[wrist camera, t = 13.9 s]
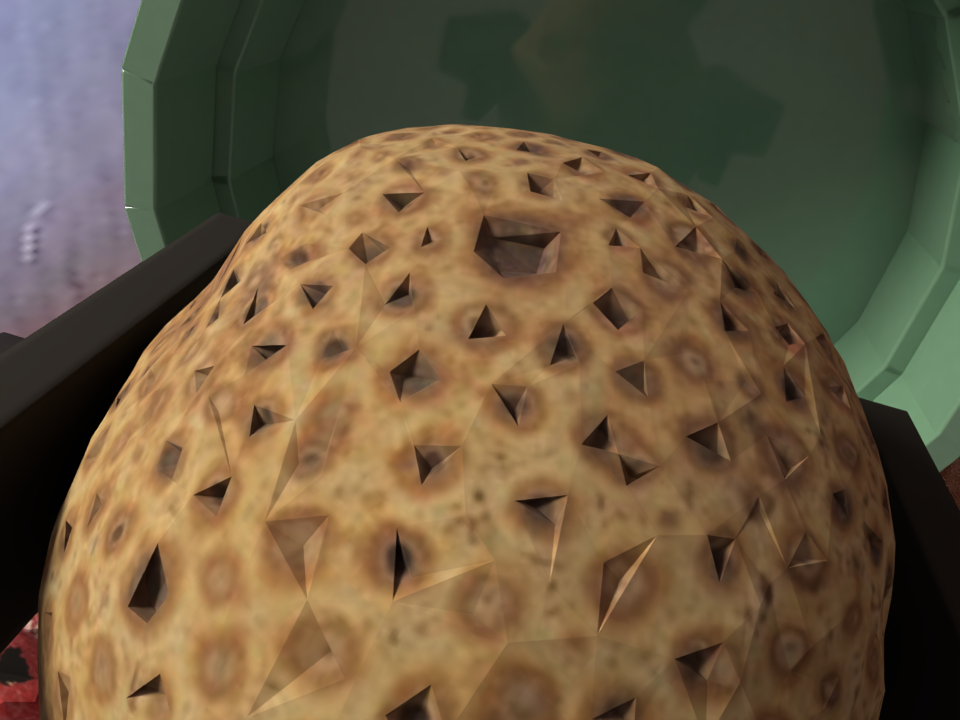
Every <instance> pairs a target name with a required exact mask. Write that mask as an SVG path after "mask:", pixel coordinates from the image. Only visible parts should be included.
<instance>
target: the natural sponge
mask: <svg viewBox="0 0 960 720" xmlns="http://www.w3.org/2000/svg"><path fill="white" fill-rule="evenodd" d="M894 567H895V536H894V530H893V523H892V517H891V510H890V503H889V496H888V488H887V483H886V479H885V476H884V472H883V468H882V464H881V461H880V457H879V453H878V449H877V446H876V444H875V441H874V438H873V436H872V433H871V430H870V428H869V425H868V422H867V419H866V416H865V414H864V411H863V408H862V405H861V402H860V400H859V398H858V396H857V394H856V391H855V389H854V386H853V383H852V381H851V378H850V375H849V373H848V370H847V368H846V365H845V362H844V361H843V359H842V357H841V356H840V354H839V353H838V351H837V350H836V348H835V346H834V345H833V343H832V341H831V339H830V337H829V335H828V332H827V331H826V329H825V328H824V326H823V325H822V323H821V322H820V321H819V319H818V318H817V316H816V315H815V313H814V312H813V310H812V309H811V307H810V306H809V305H808V303H807V302H806V300H805V299H804V298H803V296H802V295H801V293H800V292H799V291H798V289H797V288H796V287H795V285H794V284H793V283H792V281H791V280H790V279H789V277H788V276H787V275H786V273H785V272H784V271H783V270H782V269H781V268H780V267H779V266H778V265H777V264H776V263H775V262H774V261H773V260H772V259H771V257H770V256H769V255H768V254H767V253H766V252H764V251H763V250H762V249H761V248H760V247H759V246H758V245H757V244H756V243H755V242H754V241H753V240H752V239H751V238H750V237H749V236H748V235H747V234H746V233H745V232H743V231H742V230H741V229H740V228H739V227H738V226H737V225H736V224H735V223H734V222H733V221H732V220H731V219H730V218H729V217H728V216H727V215H726V214H725V213H724V212H723V211H722V210H721V209H720V208H719V207H717V206H716V205H715V204H714V203H712V202H710V201H709V200H707V199H706V198H704V197H702V196H701V195H699V194H697V193H696V192H694V191H693V190H691V189H689V188H688V187H686V186H685V185H683V184H681V183H680V182H678V181H677V180H675V179H674V178H672V177H671V176H669V175H668V174H667V173H665V172H664V171H662V170H661V169H660V168H658V167H656V166H654V165H651V164H649V163H647V162H645V161H642V160H640V159H638V158H635V157H632V156H629V155H626V154H623V153H620V152H617V151H614V150H610V149H607V148H603V147H599V146H595V145H591V144H587V143H582V142H578V141H574V140H570V139H566V138H562V137H559V136H555V135H552V134H545V133H539V132H532V131H525V130H518V129H509V128H498V127H486V126H474V125H462V124H449V125H438V126H427V127H412V128H404V129H399V130H393V131H388V132H383V133H379V134H375V135H371V136H368V137H365V138H362V139H359V140H357V141H355V142H353V143H351V144H349V145H347V146H345V147H343V148H341V149H339V150H337V151H335V152H333V153H331V154H330V155H328V156H326V157H324V158H323V159H321V160H319V161H317V162H316V163H315V164H314V165H313V166H311V167H310V168H309V169H308V170H307V171H306V172H305V173H303V174H302V175H301V176H300V177H299V178H298V179H297V180H296V181H295V182H294V183H293V184H292V185H290V186H289V187H288V188H287V189H286V190H285V191H284V192H283V193H282V194H281V195H280V196H279V197H277V198H276V199H275V200H274V201H273V202H272V203H271V204H270V205H269V206H268V207H267V208H266V209H264V210H263V212H262V213H261V214H260V215H259V216H258V217H257V218H256V219H255V220H254V221H253V223H252V224H251V225H250V226H249V227H248V228H247V229H246V230H245V232H244V233H243V235H242V236H241V238H240V239H239V241H238V242H237V244H236V245H235V247H234V249H233V250H232V252H231V253H230V255H229V256H228V258H227V259H226V261H225V262H224V264H223V265H222V267H221V268H220V270H219V271H218V273H217V275H216V276H215V278H214V279H213V280H212V282H211V283H210V284H209V285H208V286H207V287H206V288H205V289H204V290H203V291H202V292H201V293H200V294H199V295H198V296H197V297H196V298H195V299H194V300H193V301H192V302H191V303H189V304H188V305H187V306H186V307H185V308H184V309H183V310H182V311H181V312H179V313H178V314H177V315H176V316H175V317H174V318H173V319H172V320H171V321H169V322H168V323H167V324H166V325H165V326H164V328H163V329H162V330H161V331H160V332H159V334H158V335H157V336H156V337H155V338H154V339H153V341H152V342H151V343H150V344H149V345H148V347H147V348H146V349H145V350H144V351H143V353H142V355H141V357H140V358H139V360H138V362H137V364H136V366H135V368H134V369H133V371H132V373H131V374H130V376H129V377H128V379H127V381H126V382H125V384H124V385H123V387H122V389H121V390H120V392H119V393H118V395H117V397H116V398H115V400H114V401H113V403H112V405H111V406H110V408H109V410H108V412H107V414H106V416H105V417H104V419H103V421H102V422H101V424H100V425H99V427H98V428H97V430H96V431H95V433H94V435H93V436H92V438H91V440H90V442H89V445H88V447H87V449H86V452H85V454H84V456H83V459H82V461H81V463H80V466H79V468H78V470H77V473H76V475H75V477H74V479H73V482H72V484H71V486H70V489H69V491H68V493H67V496H66V498H65V500H64V502H63V504H62V506H61V509H60V511H59V513H58V516H57V519H56V522H55V525H54V528H53V530H52V533H51V538H50V542H49V547H48V552H47V556H46V561H45V566H44V570H43V575H42V580H41V586H40V591H39V600H38V645H37V660H38V692H39V717H40V720H878V719H879V715H880V710H881V706H882V702H883V697H884V693H885V683H884V633H885V628H886V622H887V617H888V612H889V607H890V602H891V596H892V587H893V578H894Z"/></svg>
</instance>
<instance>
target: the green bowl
mask: <svg viewBox="0 0 960 720" xmlns="http://www.w3.org/2000/svg"><path fill="white" fill-rule="evenodd" d="M122 68H123V70H122V105H123V150H124V195H125V205H126V207H125V210H126V213H127V216H128V220H129V223H130V226H131V229H132V232H133V235H134V238H135V242H136V245H137V248H138V251H139V254H140V257H141V261H142V262H143V261H144V260H146V259H147V258H149V257H151V256H152V255H154V254H155V253H157V252H158V251H160V250H161V249H163V248H164V247H166V246H167V245H169V244H170V243H172V242H173V241H175V240H177V239H178V238H180V237H181V236H183V235H184V234H186V233H187V232H189V231H190V230H192V229H193V228H195V227H196V226H198V225H199V224H201V223H203V222H204V221H206V220H207V219H209V218H210V217H212V216H213V215H215V214H216V213H218V212H219V213H222V214H226V215H229V216H233V217H236V218H240V219H243V220H246V221H250V222H253V221H254V220H255V219H256V218H257V217H258V216H259V215H260V214H261V213H262V212H263V210H264V209H266V208H267V207H268V206H269V205H270V204H271V203H272V202H273V201H274V200H275V199H276V198H277V197H279V196H280V195H281V194H282V193H283V192H284V191H285V190H286V189H287V188H288V187H289V186H290V185H292V184H293V183H294V182H295V181H296V180H297V179H298V178H299V177H300V176H301V175H302V174H303V173H305V172H306V171H307V170H308V169H309V168H310V167H311V166H313V165H314V164H315V163H316V162H317V161H319V160H321V159H323V158H324V157H326V156H328V155H330V154H331V153H333V152H335V151H337V150H339V149H341V148H343V147H345V146H347V145H349V144H351V143H353V142H355V141H357V140H359V139H362V138H365V137H368V136H371V135H375V134H379V133H383V132H388V131H393V130H399V129H404V128H412V127H427V126H438V125H449V124H462V125H474V126H486V127H498V128H509V129H518V130H525V131H532V132H539V133H545V134H552V135H555V136H559V137H562V138H566V139H570V140H574V141H578V142H582V143H587V144H591V145H595V146H599V147H603V148H607V149H610V150H614V151H617V152H620V153H623V154H626V155H629V156H632V157H635V158H638V159H640V160H642V161H645V162H647V163H649V164H651V165H654V166H656V167H658V168H660V169H661V170H662V171H664V172H665V173H667V174H668V175H669V176H671V177H672V178H674V179H675V180H677V181H678V182H680V183H681V184H683V185H685V186H686V187H688V188H689V189H691V190H693V191H694V192H696V193H697V194H699V195H701V196H702V197H704V198H706V199H707V200H709V201H710V202H712V203H714V204H715V205H716V206H717V207H719V208H720V209H721V210H722V211H723V212H724V213H725V214H726V215H727V216H728V217H729V218H730V219H731V220H732V221H733V222H734V223H735V224H736V225H737V226H738V227H739V228H740V229H741V230H742V231H743V232H745V233H746V234H747V235H748V236H749V237H750V238H751V239H752V240H753V241H754V242H755V243H756V244H757V245H758V246H759V247H760V248H761V249H762V250H763V251H764V252H766V253H767V254H768V255H769V256H770V257H771V259H772V260H773V261H774V262H775V263H776V264H777V265H778V266H779V267H780V268H781V269H782V270H783V271H784V272H785V273H786V275H787V276H788V277H789V279H790V280H791V281H792V283H793V284H794V285H795V287H796V288H797V289H798V291H799V292H800V293H801V295H802V296H803V298H804V299H805V300H806V302H807V303H808V305H809V306H810V307H811V309H812V310H813V312H814V313H815V315H816V316H817V318H818V319H819V321H820V322H821V323H822V325H823V326H824V328H825V329H826V331H827V332H828V335H829V337H830V339H831V341H832V343H833V345H834V346H835V348H836V350H837V351H838V353H839V354H840V356H841V357H842V359H843V361H844V362H845V365H846V368H847V370H848V373H849V375H850V378H851V381H852V383H853V386H854V389H855V391H856V394H857V396H858V397H859V398H863V399H866V400H870V401H873V402H877V403H880V404H884V405H887V406H890V407H894V408H897V409H901V410H904V411H907V412H908V414H909V416H910V417H911V419H912V421H913V423H914V425H915V427H916V429H917V431H918V433H919V435H920V436H921V438H922V440H923V442H924V444H925V446H926V448H927V450H928V452H929V454H930V455H931V457H932V459H933V461H934V463H935V465H936V467H937V469H938V471H939V473H940V472H941V471H943V470H944V469H945V468H947V467H948V466H949V465H950V464H952V463H953V462H954V461H955V460H957V459H958V458H959V457H960V0H141V3H140V6H139V10H138V13H137V17H136V20H135V23H134V27H133V30H132V33H131V37H130V40H129V43H128V47H127V50H126V54H125V57H124V60H123V64H122Z"/></svg>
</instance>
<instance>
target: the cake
mask: <svg viewBox="0 0 960 720" xmlns="http://www.w3.org/2000/svg"><path fill="white" fill-rule="evenodd" d="M37 645H38V613H37V614H36V615H35V616H34V617H33V618H32V619H31V620H30V622H29V623H28V624H27V625H26V626H25V627H24V628H23V629H22V630H21V632H20V633H19V634H18V635H17V636H16V637H15V638H14V639H13V641H12V642H11V643H10V644H9V645H8V646H7V647H6V648H5V649H4V651H3V652H2V653H1V654H0V720H40V717H39V692H38V660H37Z"/></svg>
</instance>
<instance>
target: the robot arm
mask: <svg viewBox="0 0 960 720" xmlns="http://www.w3.org/2000/svg"><path fill="white" fill-rule="evenodd" d="M252 223H253V222H250V221H246V220H243V219H240V218H236V217H233V216H229V215H226V214H222V213H219V212H218V213H216V214H215V215H213V216H212V217H210V218H209V219H207V220H206V221H204V222H203V223H201V224H199V225H198V226H196V227H195V228H193V229H192V230H190V231H189V232H187V233H186V234H184V235H183V236H181V237H180V238H178V239H177V240H175V241H173V242H172V243H170V244H169V245H167V246H166V247H164V248H163V249H161V250H160V251H158V252H157V253H155V254H154V255H152V256H151V257H149V258H147V259H146V260H144V261H143V262H141V263H140V264H138V265H137V266H135V267H134V268H132V269H131V270H129V271H128V272H126V273H124V274H123V275H121V276H120V277H118V278H117V279H115V280H114V281H112V282H111V283H109V284H108V285H106V286H105V287H103V288H102V289H100V290H98V291H97V292H95V293H94V294H92V295H91V296H89V297H88V298H86V299H85V300H83V301H82V302H80V303H79V304H77V305H76V306H74V307H72V308H71V309H69V310H68V311H66V312H65V313H63V314H62V315H60V316H59V317H57V318H56V319H54V320H53V321H51V322H50V323H48V324H46V325H45V326H43V327H42V328H40V329H39V330H37V331H36V332H34V333H33V334H31V335H30V336H28V337H27V338H22V337H18V336H15V335H12V334H8V333H5V332H3V333H0V654H1V653H2V652H3V651H4V649H5V648H6V647H7V646H8V645H9V644H10V643H11V642H12V641H13V639H14V638H15V637H16V636H17V635H18V634H19V633H20V632H21V630H22V629H23V628H24V627H25V626H26V625H27V624H28V623H29V622H30V620H31V619H32V618H33V617H34V616H35V615H36V614H37V613H38V600H39V591H40V586H41V580H42V575H43V570H44V566H45V561H46V556H47V552H48V547H49V542H50V538H51V533H52V530H53V528H54V525H55V522H56V519H57V516H58V513H59V511H60V509H61V506H62V504H63V502H64V500H65V498H66V496H67V493H68V491H69V489H70V486H71V484H72V482H73V479H74V477H75V475H76V473H77V470H78V468H79V466H80V463H81V461H82V459H83V456H84V454H85V452H86V449H87V447H88V445H89V442H90V440H91V438H92V436H93V435H94V433H95V431H96V430H97V428H98V427H99V425H100V424H101V422H102V421H103V419H104V417H105V416H106V414H107V412H108V410H109V408H110V406H111V405H112V403H113V401H114V400H115V398H116V397H117V395H118V393H119V392H120V390H121V389H122V387H123V385H124V384H125V382H126V381H127V379H128V377H129V376H130V374H131V373H132V371H133V369H134V368H135V366H136V364H137V362H138V360H139V358H140V357H141V355H142V353H143V351H144V350H145V349H146V348H147V347H148V345H149V344H150V343H151V342H152V341H153V339H154V338H155V337H156V336H157V335H158V334H159V332H160V331H161V330H162V329H163V328H164V326H165V325H166V324H167V323H168V322H169V321H171V320H172V319H173V318H174V317H175V316H176V315H177V314H178V313H179V312H181V311H182V310H183V309H184V308H185V307H186V306H187V305H188V304H189V303H191V302H192V301H193V300H194V299H195V298H196V297H197V296H198V295H199V294H200V293H201V292H202V291H203V290H204V289H205V288H206V287H207V286H208V285H209V284H210V283H211V282H212V280H213V279H214V278H215V276H216V275H217V273H218V271H219V270H220V268H221V267H222V265H223V264H224V262H225V261H226V259H227V258H228V256H229V255H230V253H231V252H232V250H233V249H234V247H235V245H236V244H237V242H238V241H239V239H240V238H241V236H242V235H243V233H244V232H245V230H246V229H247V228H248V227H249V226H250V225H251V224H252ZM858 398H859V397H858ZM859 400H860V402H861V405H862V408H863V411H864V414H865V416H866V419H867V422H868V425H869V428H870V430H871V433H872V436H873V438H874V441H875V444H876V446H877V449H878V453H879V457H880V461H881V464H882V468H883V472H884V476H885V479H886V483H887V488H888V496H889V503H890V510H891V517H892V523H893V530H894V536H895V567H894V578H893V587H892V596H891V602H890V607H889V612H888V617H887V622H886V628H885V633H884V683H885V693H884V697H883V702H882V706H881V710H880V715H879V719H878V720H960V511H959V509H958V507H957V505H956V503H955V501H954V499H953V497H952V495H951V493H950V492H949V490H948V488H947V486H946V484H945V482H944V480H943V478H942V476H941V474H940V473H939V471H938V469H937V467H936V465H935V463H934V461H933V459H932V457H931V455H930V454H929V452H928V450H927V448H926V446H925V444H924V442H923V440H922V438H921V436H920V435H919V433H918V431H917V429H916V427H915V425H914V423H913V421H912V419H911V417H910V416H909V414H908V412H907V411H904V410H901V409H897V408H894V407H890V406H887V405H884V404H880V403H877V402H873V401H870V400H866V399H863V398H859Z"/></svg>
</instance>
